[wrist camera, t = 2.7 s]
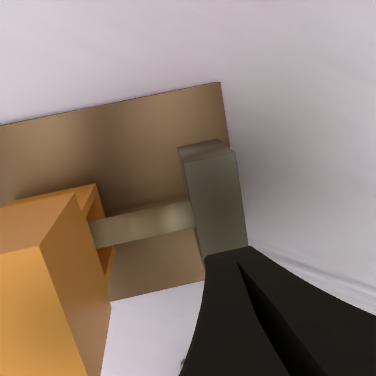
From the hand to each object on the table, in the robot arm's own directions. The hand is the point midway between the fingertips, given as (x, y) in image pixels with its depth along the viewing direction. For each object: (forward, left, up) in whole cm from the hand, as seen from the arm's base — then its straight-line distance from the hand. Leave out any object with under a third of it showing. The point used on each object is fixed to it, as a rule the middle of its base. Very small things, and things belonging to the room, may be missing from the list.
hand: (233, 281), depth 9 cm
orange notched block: (0, +7, -7) cm, 10 cm away
